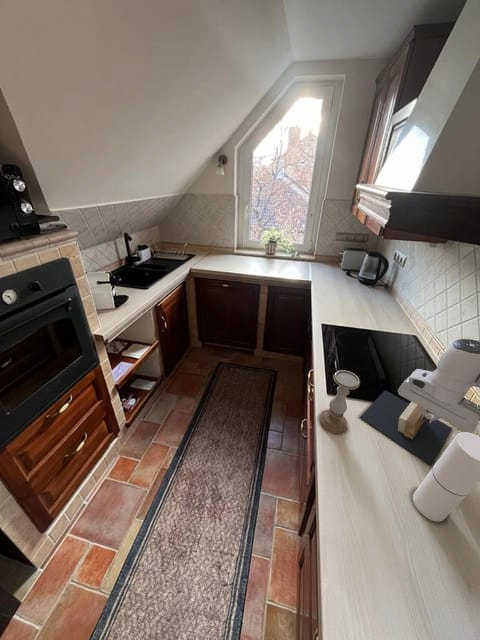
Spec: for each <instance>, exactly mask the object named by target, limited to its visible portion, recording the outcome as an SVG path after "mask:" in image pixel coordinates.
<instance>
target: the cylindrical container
mask: <svg viewBox="0 0 480 640" xmlns="http://www.w3.org/2000/svg"><path fill="white" fill-rule="evenodd" d="M479 483H480V435H478V434H476V433H474V432H473V433H469V432H464V431H459V432H458V433H457V434H456V435H455V436H454V438H453V439H452V441H451V442H450V443H449V445H448V446H447V448H446V449H445V450H444V451H443V453H442V454H441V455H440V457H439V458H438V460H437V461H436V462H435V464H433V465H432V467H431V469H430V470H429V472H428V473H427V475H426V476H425V477H424V478H423V480H421V483H420V484H419V485H418V487H417V488H416V490H415V491H414V492H413V494H412V500H413V504H414V506H415V507H416V509H417V511H419V513H420V514H421V515H423V516H424V517H426V519H428V520H430V521H433V522H438V523H439V522H443V521H444V520H445V519H446V518H447V517H448V516H449V515H450V514H451V513H452V512H453V511H454V509H455V508H456V507H457V506H458V505H459V504H460V503H461V502H462V501H463V500H464V499H465V498H466V497H467V495H469V494H470V493H471V492H472V491H473V489H474V488H475V487H477V485H478V484H479Z"/></svg>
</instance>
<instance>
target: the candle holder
mask: <svg viewBox="0 0 480 640" xmlns="http://www.w3.org/2000/svg"><path fill="white" fill-rule="evenodd" d="M332 378H333V382H334V383H335V384H336V385H338V386H337V387H336V395H335V396H334V397H333V398H332V399H330V401H329V404H328V405H329V407H328V409H325V410H323V411H321V413H320V415H319V421H320V424H321V425H322V427H323V428H324V429H325V430H327V431H328V432H331V433H332V434H333V433H334V434H340V433H344V432H345V431H346V430H347V427H348V421H347V419H346V418H345V413H346V412H347V410H348V404H347V401H346V400H347V396H348V395H350V390H357V389H358V388H359V387H360V385H361V379H360V378H359V377H358V375H356V374H355V373H354V372H352V371H350V370H345V369H339V370H337V371H336V372H334V374H333V377H332Z"/></svg>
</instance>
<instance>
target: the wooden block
mask: <svg viewBox="0 0 480 640" xmlns="http://www.w3.org/2000/svg"><path fill="white" fill-rule="evenodd" d="M421 408H422V407H420V406H418V405H417V404H415V403H413V402H411V401H410V403H409V405H408V407H407V408H406V409H405V411H404V412H403V413H402V415H401V416H400V417H399V424H398V431H399V432H402V433H404V436H406V437H409V438H411V439H413V438H414V436H415V435H416V433H417V432H418V430H419V429H420V427H421V426H422V424H423V423H424V421H425V420H423V419H422V418H421V417H422V412H421Z"/></svg>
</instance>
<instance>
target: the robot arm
mask: <svg viewBox="0 0 480 640" xmlns="http://www.w3.org/2000/svg"><path fill="white" fill-rule="evenodd" d="M472 387H474V388H479V389H480V340H475V339H473V338H472V339H471V338H460V339H457V340H455V341H453V342H452V343H450V344H449V345H448V346H447V347H446V349H445V350H444V352H443V353H442V355H441V356H440V358H439V360H438V362H437V367H436V368H435V369H434V370H433V371H431V370H425V369H421V368H417V369H414V371H412V373H411V374H410V375H409V376H408V377H406V379H405V380H404V381H403V382H402V383H401V384H400V386H399V388H398V389H397V392H398V395H399V396H400V397H402V398H404V399H406V400H408V401H409V402H410V403H411V402H413V403H415V404H417V405H418V406H420V407H422V408H421V412H422V417H421V418H422V419H423V420H425V421H427V422H428V423H430V424H431V422H432V420H433V421H434V420H438V421H439V420H440V419H441V420H443V421H445V422H446V423H448V424H450V425H452V426H453V427H456V428H457V429H459V430H461V431H462V432H469V433H473V434H474V432H475V431H476V429H477V426H478V424H479V422H480V404H477V403H475V402H474V401H471V400H470V399H468V398H466V397H465V396H466V395H467V393H468V392H469V391H470V389H471V388H472ZM428 412H429V413H431V414H429V413H428ZM432 414H433V415H432Z"/></svg>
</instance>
